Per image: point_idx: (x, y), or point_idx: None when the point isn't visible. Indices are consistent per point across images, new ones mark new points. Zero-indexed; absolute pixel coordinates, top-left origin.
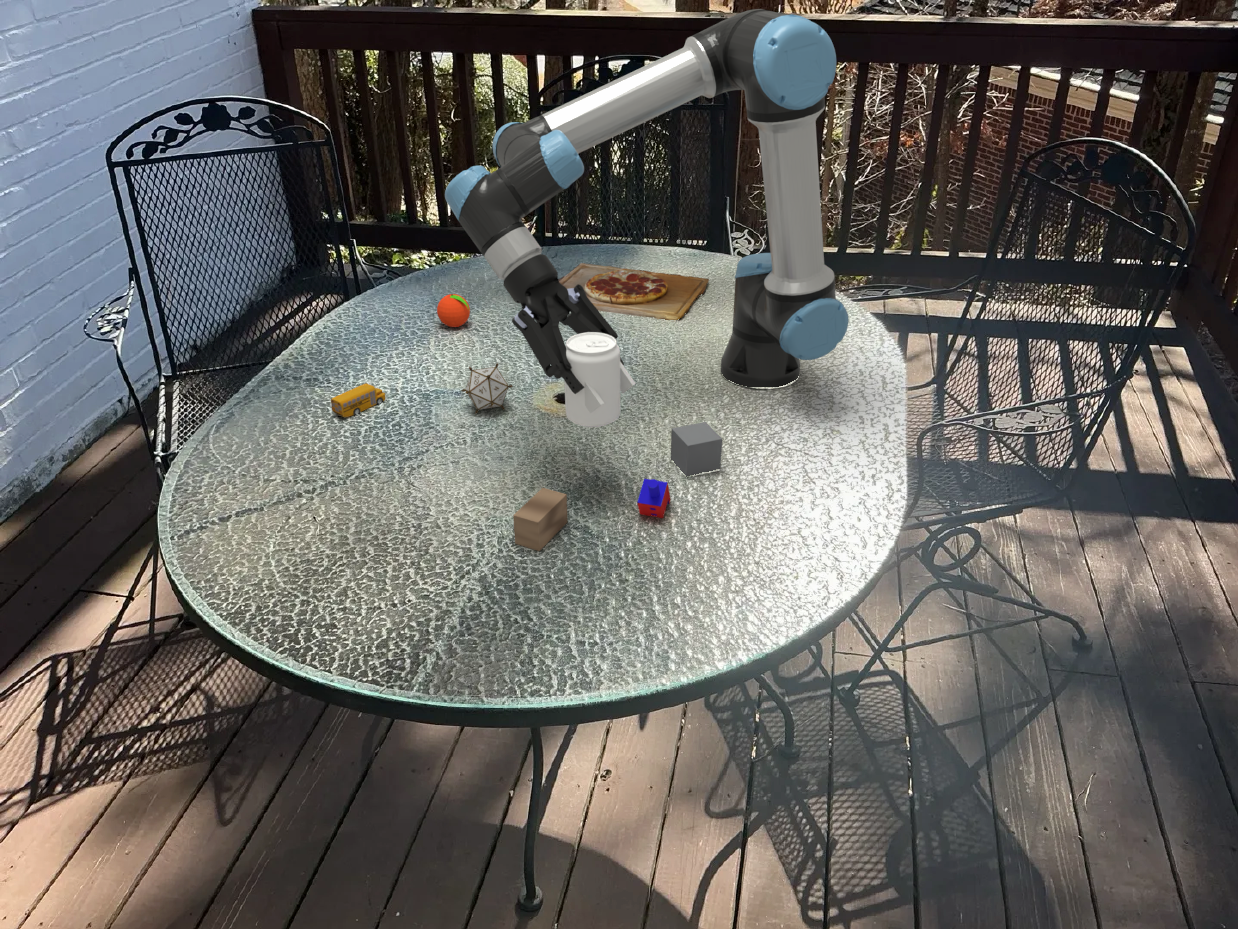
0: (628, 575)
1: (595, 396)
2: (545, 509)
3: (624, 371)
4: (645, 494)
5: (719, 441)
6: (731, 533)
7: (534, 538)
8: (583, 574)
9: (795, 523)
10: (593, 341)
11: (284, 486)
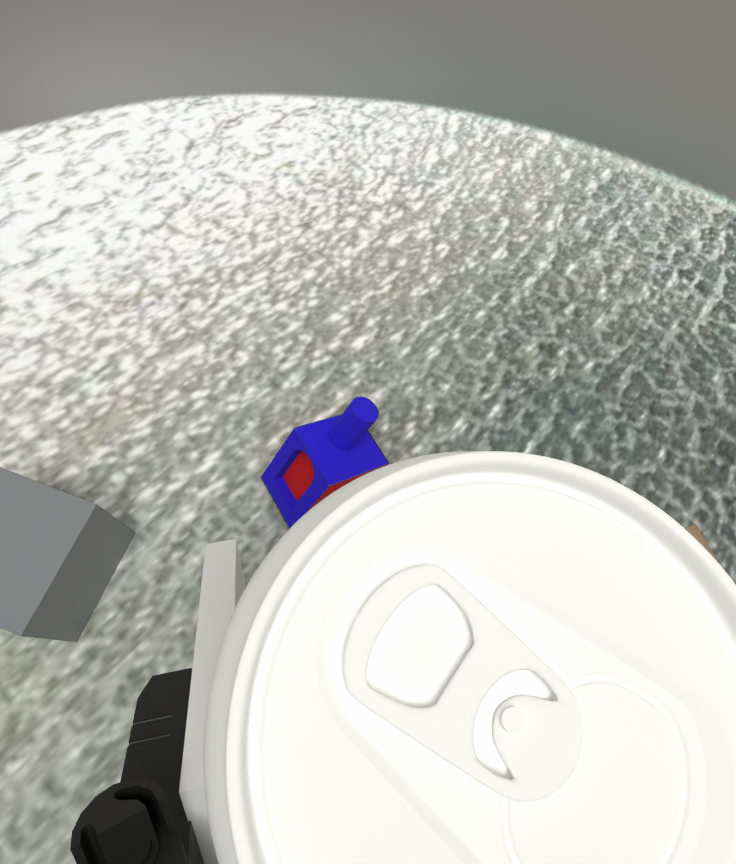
0: (529, 354)
1: None
2: None
3: (224, 601)
4: (359, 457)
5: None
6: (262, 308)
7: None
8: (603, 415)
9: (134, 245)
10: (474, 753)
11: None
